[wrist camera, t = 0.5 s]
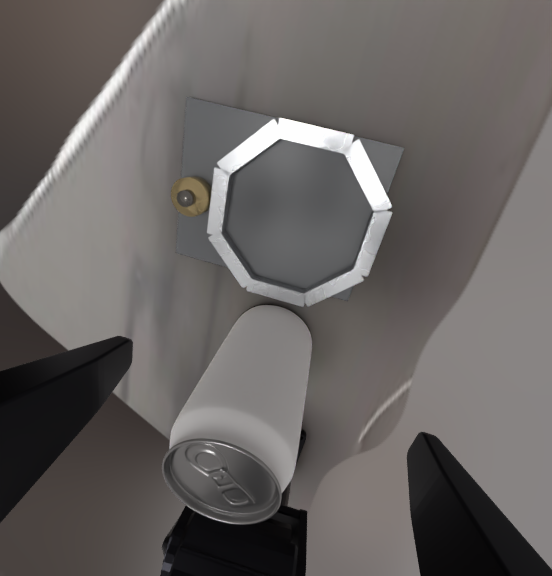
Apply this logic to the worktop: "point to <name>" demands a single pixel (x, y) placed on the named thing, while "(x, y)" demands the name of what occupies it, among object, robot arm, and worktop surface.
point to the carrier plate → (280, 198)
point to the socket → (312, 138)
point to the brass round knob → (191, 196)
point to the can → (243, 421)
